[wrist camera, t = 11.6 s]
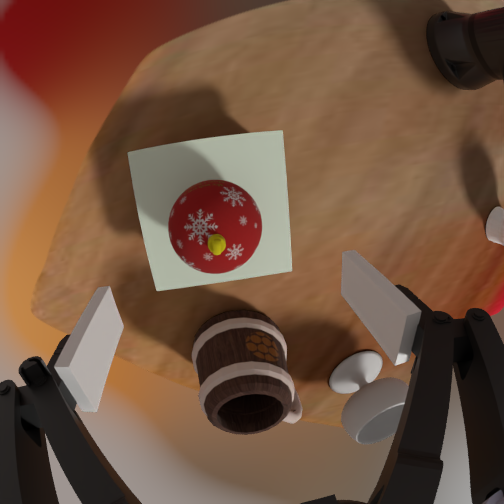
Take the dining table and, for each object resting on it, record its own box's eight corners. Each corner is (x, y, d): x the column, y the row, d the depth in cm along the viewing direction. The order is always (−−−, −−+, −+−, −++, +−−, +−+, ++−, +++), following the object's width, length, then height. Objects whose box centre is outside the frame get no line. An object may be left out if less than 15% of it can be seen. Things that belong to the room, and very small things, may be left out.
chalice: (348, 340, 52) (384, 397, 38) (396, 350, 56) (433, 398, 42) (311, 392, 56) (335, 449, 42) (361, 396, 60) (387, 445, 46)
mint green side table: (143, 148, 35) (127, 152, 28) (267, 131, 36) (282, 130, 29) (164, 263, 41) (156, 291, 34) (277, 246, 43) (292, 271, 35)
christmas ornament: (257, 175, 31) (279, 193, 21) (251, 253, 34) (269, 298, 24) (173, 173, 29) (158, 190, 20) (173, 252, 32) (162, 299, 23)
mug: (173, 349, 47) (168, 421, 33) (233, 288, 44) (246, 356, 30) (259, 395, 54) (274, 458, 40) (317, 348, 51) (348, 409, 37)
